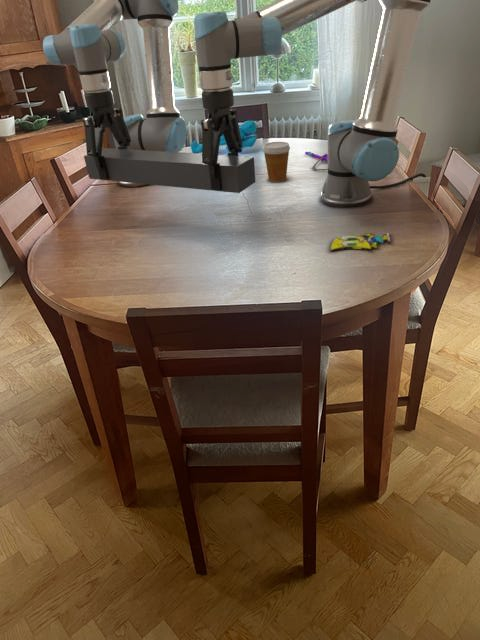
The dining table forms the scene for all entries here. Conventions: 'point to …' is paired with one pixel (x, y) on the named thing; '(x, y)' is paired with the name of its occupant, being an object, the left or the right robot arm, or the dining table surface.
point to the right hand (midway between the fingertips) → (226, 183)
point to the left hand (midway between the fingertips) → (115, 174)
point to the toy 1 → (245, 130)
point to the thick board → (173, 169)
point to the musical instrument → (324, 158)
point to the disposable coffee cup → (276, 160)
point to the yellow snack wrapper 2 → (358, 242)
